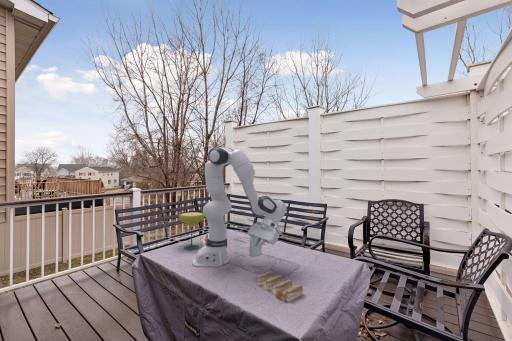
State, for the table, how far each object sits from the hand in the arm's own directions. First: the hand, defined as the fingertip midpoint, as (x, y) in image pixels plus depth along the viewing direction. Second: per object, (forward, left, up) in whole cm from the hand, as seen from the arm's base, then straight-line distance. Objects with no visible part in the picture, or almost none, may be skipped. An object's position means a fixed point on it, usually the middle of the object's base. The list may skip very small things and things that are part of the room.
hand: (254, 245), depth 136 cm
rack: (+9, -16, -17) cm, 25 cm away
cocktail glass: (-35, +55, -17) cm, 68 cm away
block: (0, 0, -5) cm, 5 cm away
